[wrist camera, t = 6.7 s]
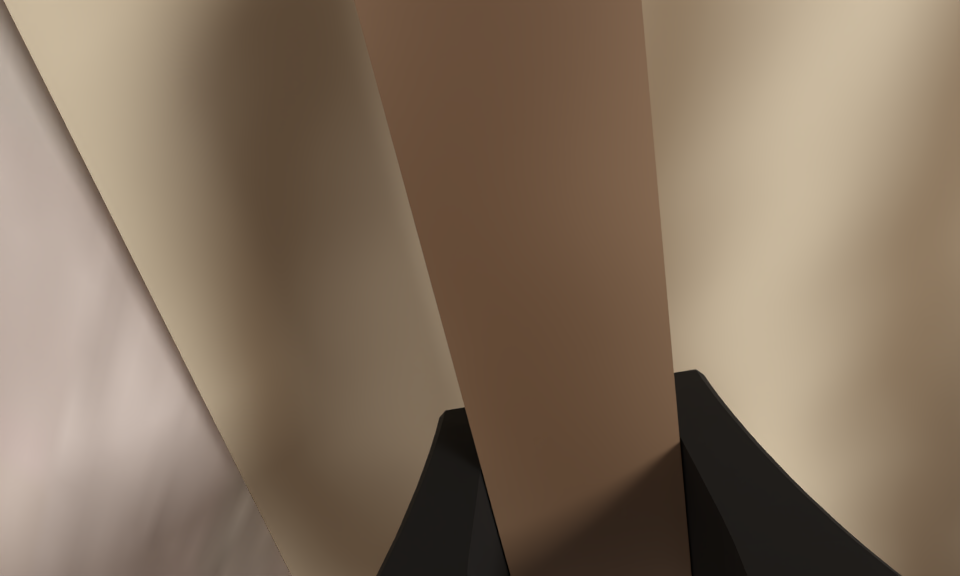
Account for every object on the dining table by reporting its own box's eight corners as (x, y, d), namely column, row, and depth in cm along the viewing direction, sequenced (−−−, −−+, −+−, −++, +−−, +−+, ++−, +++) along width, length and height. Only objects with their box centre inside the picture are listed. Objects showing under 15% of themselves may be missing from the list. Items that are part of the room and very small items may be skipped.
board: (1517, -1357, 8) (1639, -1480, 7) (1013, 619, 26) (1031, 649, 25) (-337, -778, 10) (-409, -824, 9) (374, 707, 27) (372, 737, 27)
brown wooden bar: (563, -318, 9) (611, -337, 6) (676, 679, 18) (714, 840, 16) (333, -263, 9) (283, -258, 6) (567, 694, 19) (587, 855, 16)
